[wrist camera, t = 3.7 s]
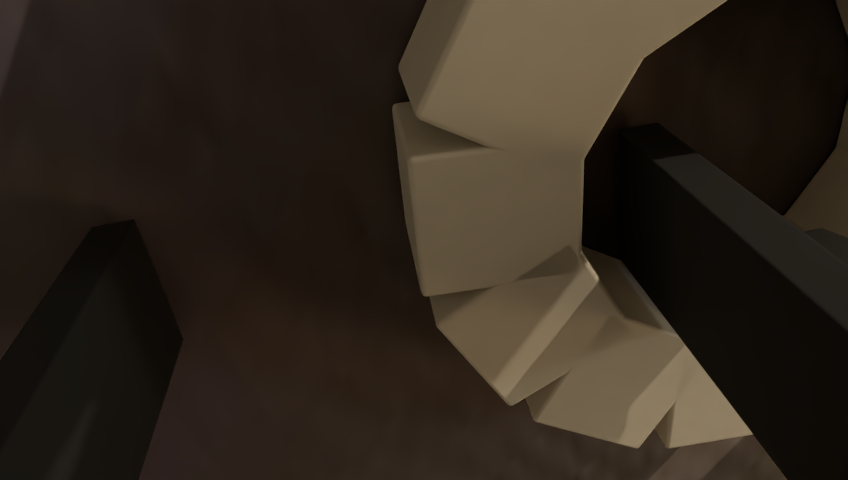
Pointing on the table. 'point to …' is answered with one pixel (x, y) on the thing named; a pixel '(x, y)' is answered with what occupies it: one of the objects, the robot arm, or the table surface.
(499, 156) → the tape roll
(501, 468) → the table surface
